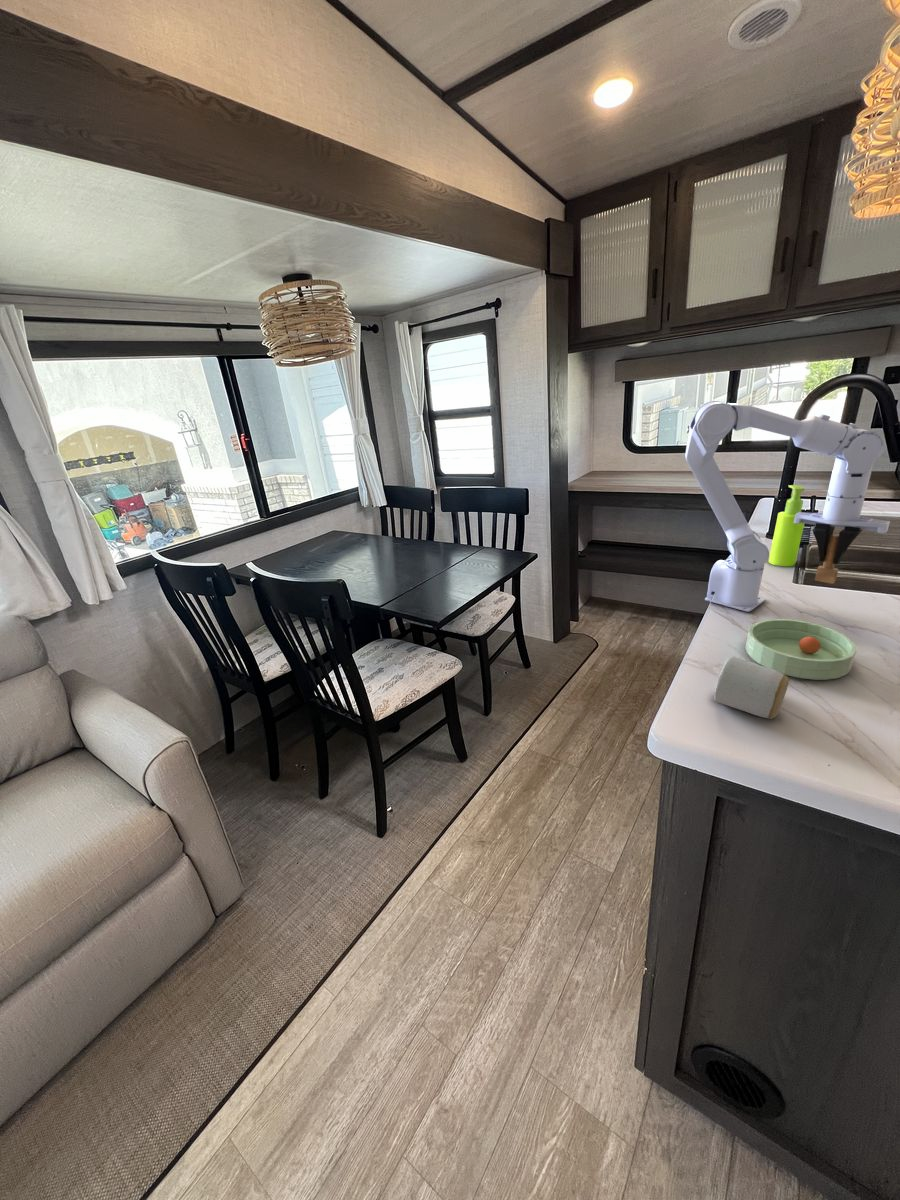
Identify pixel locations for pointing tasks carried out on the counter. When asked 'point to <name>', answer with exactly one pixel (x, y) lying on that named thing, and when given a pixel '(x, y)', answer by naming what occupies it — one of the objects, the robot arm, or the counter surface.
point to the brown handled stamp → (829, 562)
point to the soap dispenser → (787, 532)
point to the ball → (809, 645)
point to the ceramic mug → (751, 687)
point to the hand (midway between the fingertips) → (829, 561)
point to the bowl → (781, 650)
